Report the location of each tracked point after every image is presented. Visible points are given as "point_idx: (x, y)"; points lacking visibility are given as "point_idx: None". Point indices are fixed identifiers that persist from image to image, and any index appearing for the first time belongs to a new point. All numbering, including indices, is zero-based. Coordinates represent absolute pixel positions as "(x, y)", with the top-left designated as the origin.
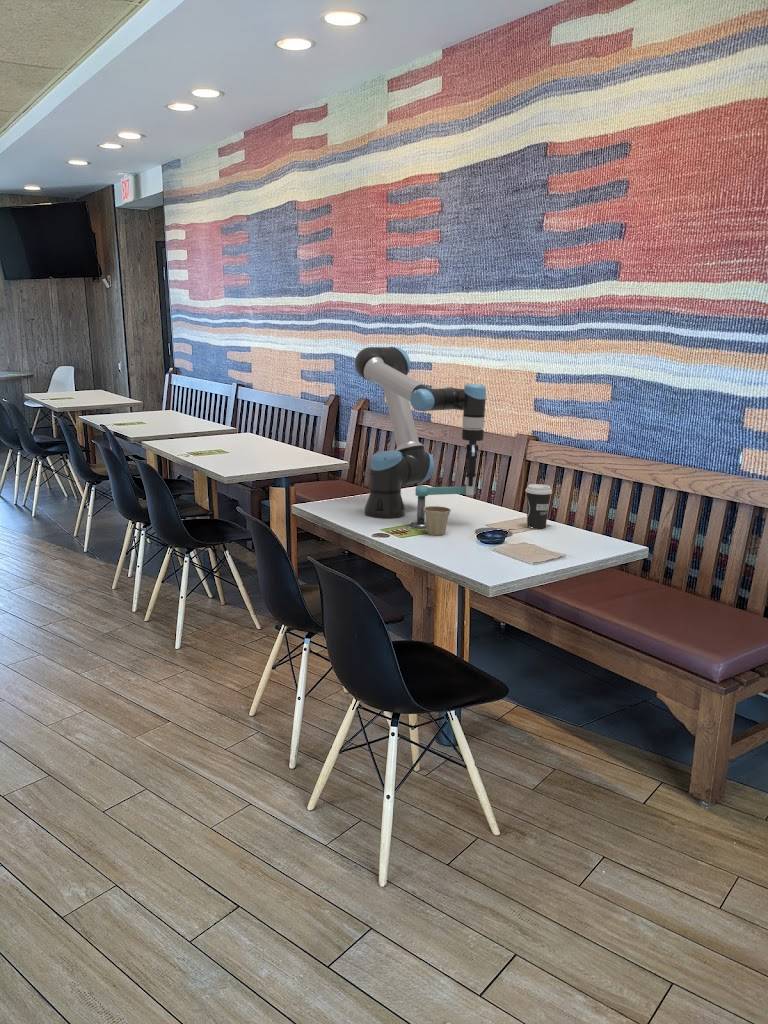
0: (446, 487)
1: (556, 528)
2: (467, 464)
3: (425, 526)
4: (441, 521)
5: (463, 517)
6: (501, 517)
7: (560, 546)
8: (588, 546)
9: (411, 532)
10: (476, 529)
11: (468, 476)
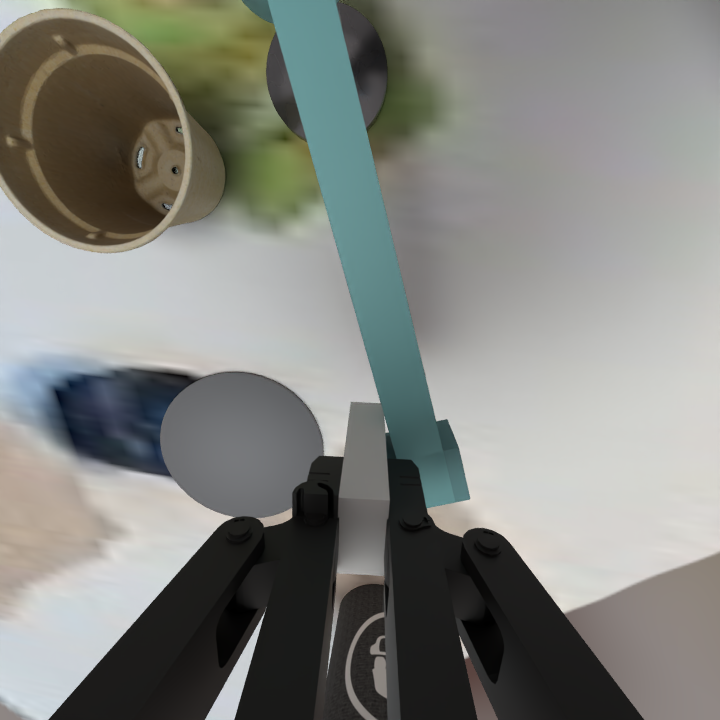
0: (349, 233)
1: None
2: (450, 664)
3: (275, 108)
4: (73, 185)
5: (553, 354)
6: (546, 521)
7: (99, 624)
8: None
9: (167, 12)
10: (274, 385)
11: (298, 519)
